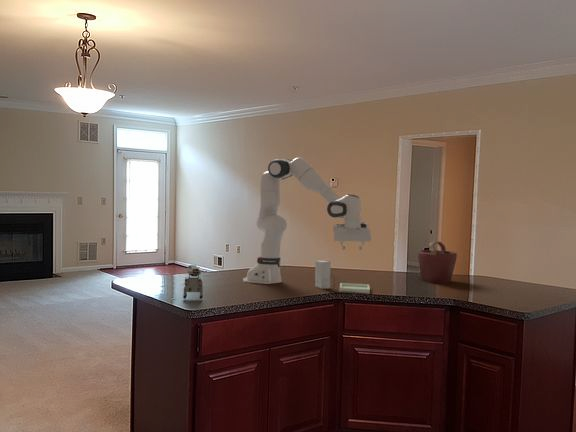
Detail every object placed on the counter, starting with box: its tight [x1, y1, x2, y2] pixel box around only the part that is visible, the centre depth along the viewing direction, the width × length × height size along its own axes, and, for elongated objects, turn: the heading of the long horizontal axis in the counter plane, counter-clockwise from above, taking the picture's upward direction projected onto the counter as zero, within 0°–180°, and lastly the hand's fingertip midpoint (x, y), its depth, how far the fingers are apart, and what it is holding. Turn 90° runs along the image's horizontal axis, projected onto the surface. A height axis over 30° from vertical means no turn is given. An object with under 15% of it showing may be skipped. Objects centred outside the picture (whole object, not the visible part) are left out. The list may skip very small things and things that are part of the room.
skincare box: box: [314, 260, 331, 290], centre depth 293 cm, size 8×6×15 cm
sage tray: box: [338, 282, 371, 295], centre depth 288 cm, size 16×16×2 cm
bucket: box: [417, 240, 458, 285], centre depth 327 cm, size 24×22×25 cm
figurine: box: [182, 264, 204, 299], centre depth 254 cm, size 9×12×15 cm
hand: (352, 249), depth 288 cm, fingers open, 8 cm apart
